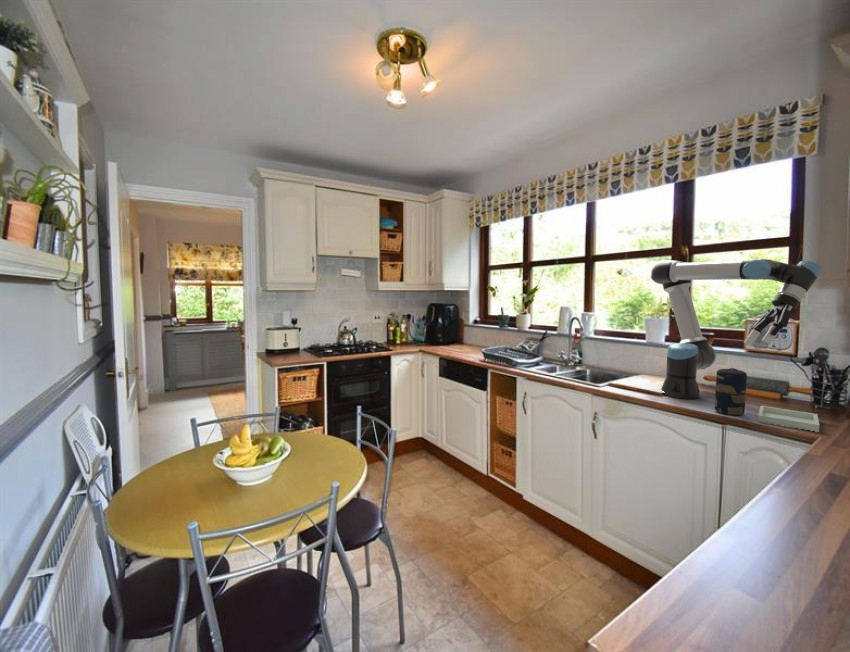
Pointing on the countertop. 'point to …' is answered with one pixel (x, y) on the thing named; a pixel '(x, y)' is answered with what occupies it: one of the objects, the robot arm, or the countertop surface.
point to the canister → (730, 391)
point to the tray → (789, 418)
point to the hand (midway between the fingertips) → (756, 343)
